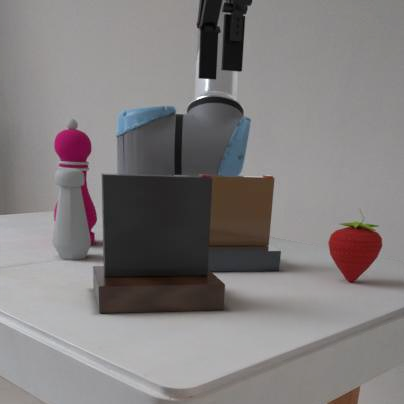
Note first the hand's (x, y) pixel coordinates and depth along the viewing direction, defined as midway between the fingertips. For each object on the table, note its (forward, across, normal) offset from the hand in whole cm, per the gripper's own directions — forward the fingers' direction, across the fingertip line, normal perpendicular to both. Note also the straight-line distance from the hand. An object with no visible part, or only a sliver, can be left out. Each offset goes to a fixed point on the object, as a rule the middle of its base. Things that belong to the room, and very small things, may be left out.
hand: (218, 75), depth 83 cm
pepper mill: (+27, +12, +21) cm, 36 cm away
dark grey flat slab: (+24, -25, +13) cm, 37 cm away
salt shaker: (+27, 0, +22) cm, 35 cm away
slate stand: (+27, -6, -2) cm, 27 cm away
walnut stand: (+27, -25, +13) cm, 39 cm away
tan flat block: (+24, -6, -2) cm, 24 cm away
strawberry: (+27, -18, -16) cm, 36 cm away
